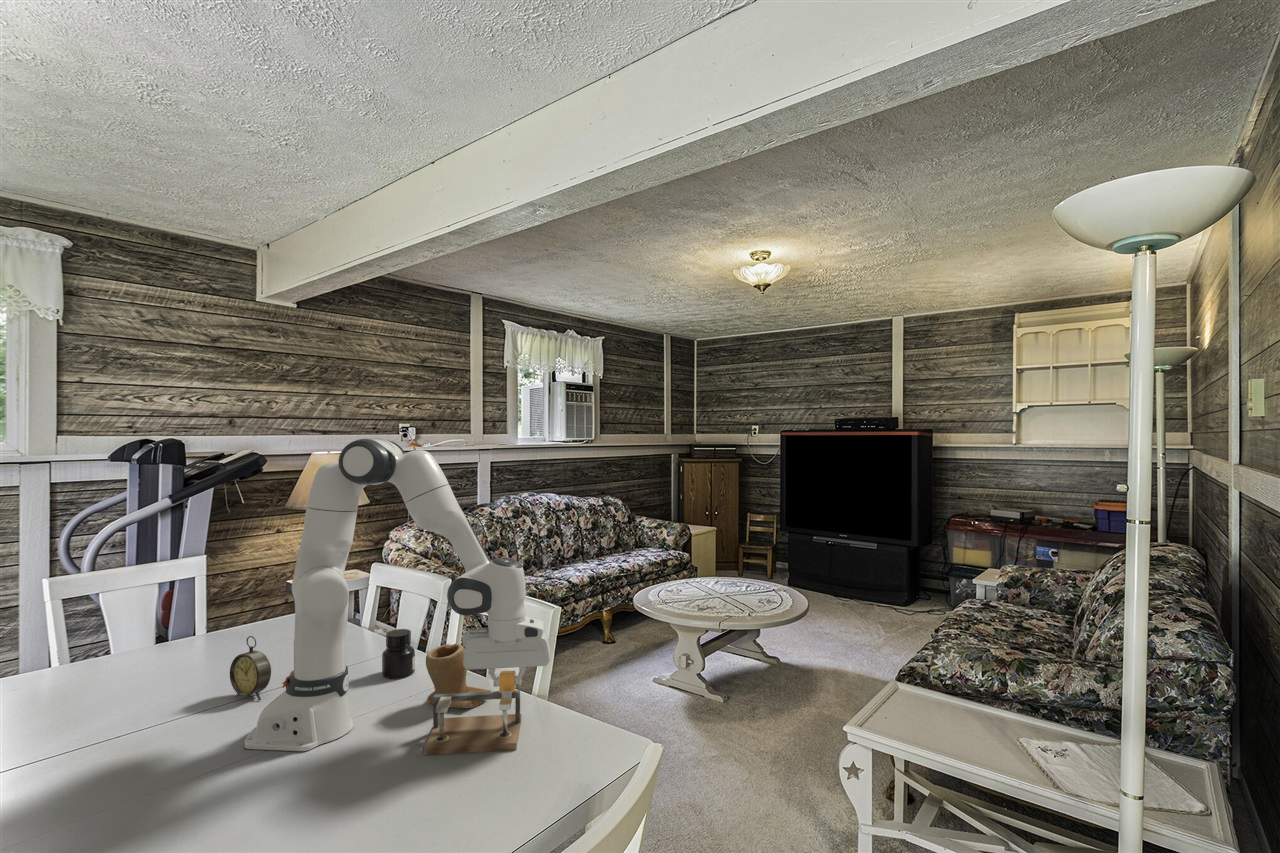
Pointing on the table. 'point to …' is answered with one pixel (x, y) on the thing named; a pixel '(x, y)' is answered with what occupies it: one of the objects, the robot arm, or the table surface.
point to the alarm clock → (250, 672)
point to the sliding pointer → (506, 693)
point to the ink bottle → (398, 655)
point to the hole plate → (471, 727)
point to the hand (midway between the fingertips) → (507, 685)
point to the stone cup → (450, 674)
